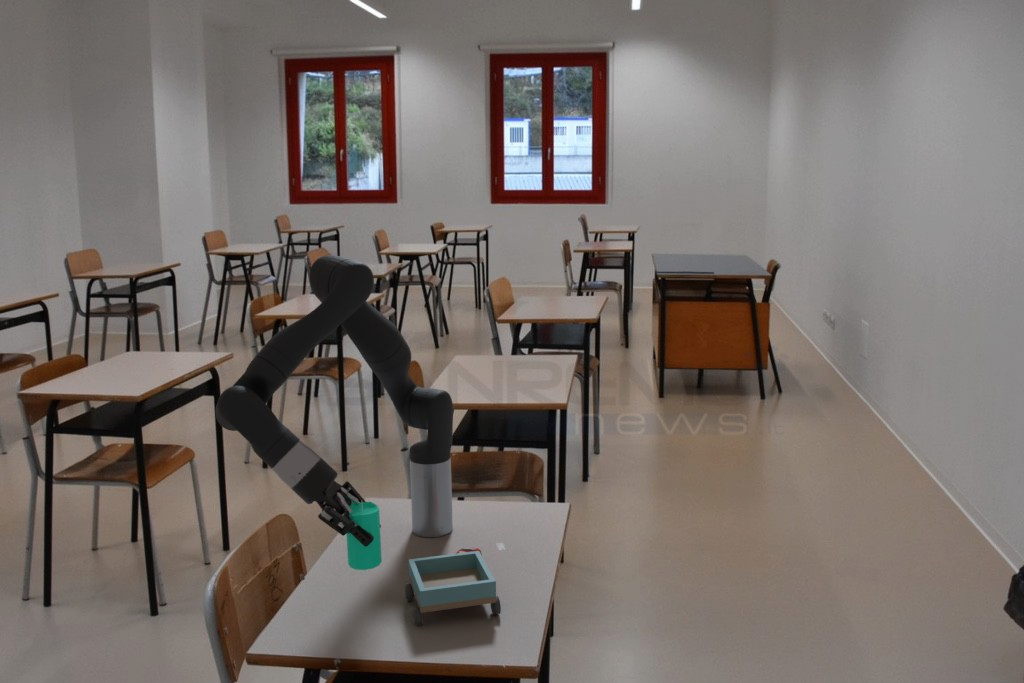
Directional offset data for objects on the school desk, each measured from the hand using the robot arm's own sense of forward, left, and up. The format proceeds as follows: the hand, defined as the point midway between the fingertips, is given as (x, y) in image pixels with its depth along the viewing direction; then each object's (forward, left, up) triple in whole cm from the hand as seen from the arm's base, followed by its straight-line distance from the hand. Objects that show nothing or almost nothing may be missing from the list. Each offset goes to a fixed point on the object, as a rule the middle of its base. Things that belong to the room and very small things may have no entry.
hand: (373, 536), depth 170 cm
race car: (-17, +20, -18) cm, 32 cm away
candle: (-1, -2, -5) cm, 6 cm away
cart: (-3, +14, -17) cm, 23 cm away
